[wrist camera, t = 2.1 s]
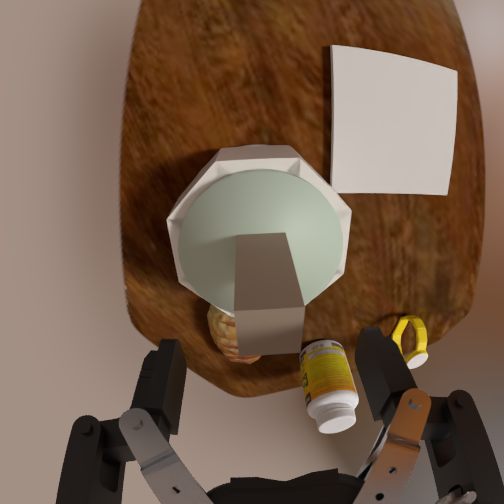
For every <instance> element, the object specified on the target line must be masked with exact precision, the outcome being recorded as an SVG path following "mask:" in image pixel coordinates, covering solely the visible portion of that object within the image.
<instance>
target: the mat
mask: <svg viewBox="0 0 504 504" xmlns="http://www.w3.org/2000/svg"><path fill="white" fill-rule="evenodd" d="M330 55H331V89H332V133H331V170H330V186H331V187H332V188H333V189H334V190H335V191H336V193H403V194H432V195H447V192H448V186H449V180H450V174H451V167H452V159H453V150H454V141H455V129H456V114H457V71H455V70H452V69H448V68H445V67H442V66H439V65H435V64H432V63H428V62H424V61H421V60H417V59H413V58H408V57H404V56H400V55H395V54H390V53H385V52H380V51H374V50H368V49H361V48H354V47H347V46H338V45H331V46H330Z"/></svg>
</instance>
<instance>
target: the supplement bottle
mask: <svg viewBox="0 0 504 504" xmlns="http://www.w3.org/2000/svg"><path fill="white" fill-rule="evenodd" d="M299 364H300V370H301V376H302V382H303V388H304V394H305V400H306V407H307V412H308V414H309V415H310V416H311V417H312V418H314V419H316V423H317V426H318V430H319V431H320V432H322V433H336V432H340V431H343V430H345V429H347V428H349V427H351V426H352V425H353V424H354V423H355V422H356V417H355V412H354V409H355V407H356V406H357V404H358V400H359V399H358V395H357V392H356V388H355V385H354V381H353V378H352V375H351V371H350V368H349V365H348V362H347V358H346V355H345V352H344V349H343V347H342V346H341V345H340V344H339V343H338V342H336V341H333V340H320V341H316V342H314V343H311V344H310V345H308V346H307V347H305V348H304V349H303V350H302V352H301V353H300V356H299Z"/></svg>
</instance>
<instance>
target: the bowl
mask: <svg viewBox="0 0 504 504" xmlns="http://www.w3.org/2000/svg"><path fill="white" fill-rule="evenodd" d="M251 169H274V170H280V171H284V172H288V173H291V174H294V175H296V176H298V177H300V178H303V179H304V180H306V181H307V182H309V183H311V184H312V185H313V186H315V187H316V188H317V189H318V190H319V191H320V192H321V193H322V194H323V195H324V196H325V197H326V199H327V200H328V201H329V203H330V204H331V206H332V207H333V209H334V210H335V212H336V214H337V216H338V219H339V221H340V224H341V228H342V233H343V252H342V257H341V261H340V264H339V267H338V269H337V271H336V273H335V275H334V277H333V278H332V280H331V281H330V283H329V284H328V285H327V286H326V288H327V287H328V286H330V285H331V284H332V283H333V282H334V281H336V280H337V279H338V278H339V277H340V276H342V275H343V274H344V268H345V261H346V254H347V246H348V238H349V229H350V220H351V209H350V208H349V207H348V206H347V205H346V203H345V202H344V201H343V200H342V199H341V197H340V196H339V195H338V194H337V193H336V191H335V190H334V189H333V188H332V187H331V186H330V185H329V184H328V183H327V182H326V181H325V180H324V179H323V178H322V177H321V176H320V175H319V174H318V173H317V172H316V171H315V170H314V169H313V168H312V167H311V166H310V165H309V164H308V163H307V162H306V161H305V160H304V159H303V158H302V157H301V156H300V155H299V154H298V153H297V152H296V151H295V150H294V149H293V148H292V147H290V145H267V144H250V145H243V146H239V147H230V148H221V149H220V150H219V151H218V152H217V153H216V154H215V155H214V157H213V158H212V159H211V160H210V161H209V162H208V163H207V164H206V165H205V166H204V167H203V168H202V169H201V171H200V172H199V173H198V175H197V176H196V177H195V179H194V180H193V181H192V182H191V183H190V185H189V186H188V187H187V188H186V189H185V191H184V192H183V193H182V194H181V195H180V197H179V198H178V200H177V202H176V204H175V205H174V207H173V209H172V211H171V212H170V214H169V216H168V218H167V225H168V230H169V236H170V241H171V246H172V251H173V256H174V261H175V266H176V270H177V275H178V280H179V283H181V284H182V285H184V286H185V287H187V288H188V289H189V290H191V291H192V292H194V293H195V294H197V295H198V296H200V297H201V298H203V297H202V296H201V295H200V294H198V293H197V292H196V291H195V289H194V288H193V287H192V286H191V284H190V283H189V281H188V280H187V278H186V276H185V274H184V272H183V270H182V267H181V264H180V260H179V253H178V239H179V233H180V229H181V226H182V223H183V220H184V218H185V216H186V214H187V212H188V210H189V208H190V206H191V205H192V203H193V202H194V201H195V199H196V198H197V197H198V196H199V195H200V194H201V193H202V192H203V191H204V190H205V189H206V188H208V187H209V186H210V185H212V184H213V183H214V182H216V181H218V180H220V179H221V178H223V177H226V176H228V175H231V174H233V173H236V172H240V171H244V170H251ZM326 288H325V289H326ZM325 289H324V290H325ZM324 290H323V291H324ZM203 299H204V298H203ZM204 300H205V299H204ZM206 301H207V300H206ZM308 303H309V302H308ZM212 305H213V304H212ZM305 305H306V304H305ZM214 306H215V305H214ZM215 307H216V306H215ZM217 308H218V307H217ZM218 309H220V308H218ZM220 310H221V311H223V312H224V313H226V314H228V315H229V316H231V317H234V313H231V312H228V311H225V310H223V309H220Z"/></svg>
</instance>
